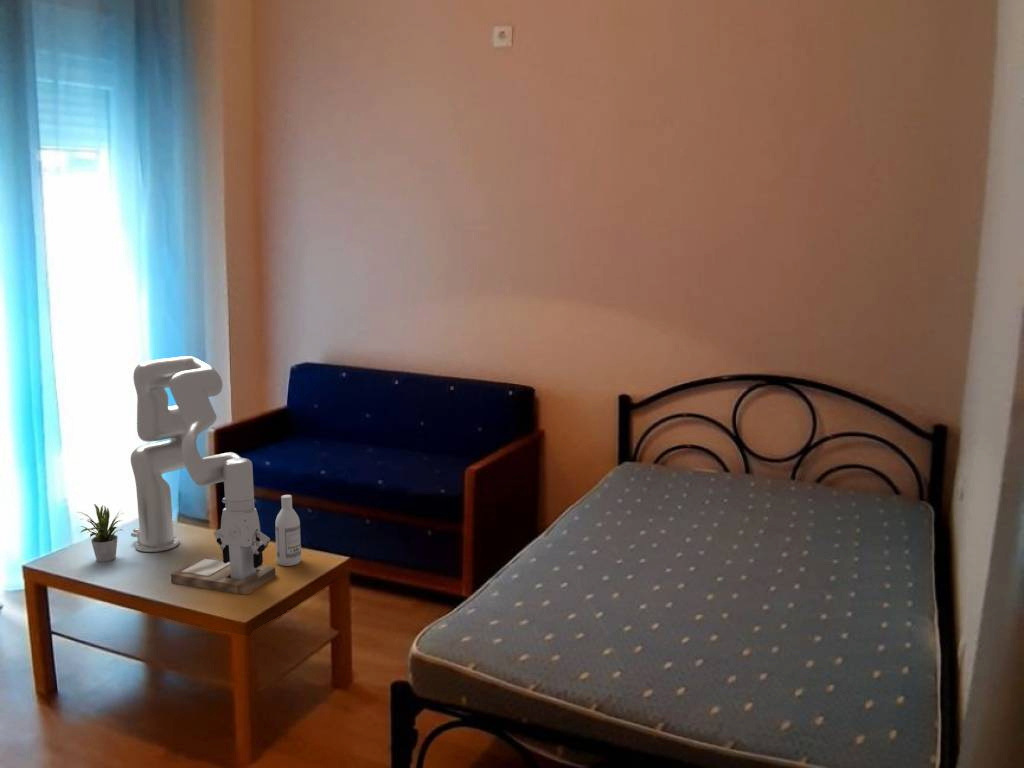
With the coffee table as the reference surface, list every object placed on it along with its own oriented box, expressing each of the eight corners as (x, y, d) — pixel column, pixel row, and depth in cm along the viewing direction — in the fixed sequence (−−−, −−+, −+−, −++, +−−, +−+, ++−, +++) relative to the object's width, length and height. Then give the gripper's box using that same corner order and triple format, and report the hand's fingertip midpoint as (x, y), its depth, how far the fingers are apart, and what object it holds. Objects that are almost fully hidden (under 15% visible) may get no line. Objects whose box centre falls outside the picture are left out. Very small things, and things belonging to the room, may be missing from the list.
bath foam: (306, 559, 271) (303, 493, 267) (293, 568, 265) (290, 500, 261) (285, 556, 273) (282, 491, 270) (272, 564, 267) (269, 498, 263)
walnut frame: (171, 582, 254) (170, 573, 253) (203, 564, 267) (203, 555, 266) (245, 595, 246) (245, 585, 246) (275, 575, 259) (275, 566, 259)
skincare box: (244, 577, 258) (242, 536, 256) (257, 579, 256) (255, 538, 254) (230, 585, 252) (228, 543, 250) (243, 587, 251) (240, 545, 249)
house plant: (68, 557, 271) (63, 504, 268) (116, 545, 281) (111, 494, 278) (87, 571, 262) (83, 515, 259) (136, 558, 271) (132, 504, 268)
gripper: (204, 504, 250) (207, 564, 253) (259, 511, 244) (262, 573, 247) (221, 496, 256) (224, 555, 260) (275, 503, 251) (277, 563, 254)
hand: (242, 564), depth 253 cm, fingers open, 9 cm apart
